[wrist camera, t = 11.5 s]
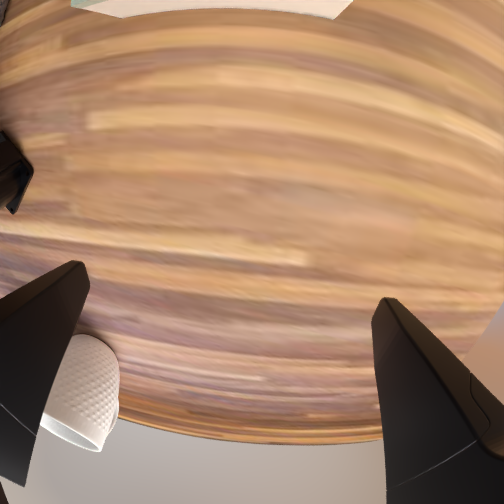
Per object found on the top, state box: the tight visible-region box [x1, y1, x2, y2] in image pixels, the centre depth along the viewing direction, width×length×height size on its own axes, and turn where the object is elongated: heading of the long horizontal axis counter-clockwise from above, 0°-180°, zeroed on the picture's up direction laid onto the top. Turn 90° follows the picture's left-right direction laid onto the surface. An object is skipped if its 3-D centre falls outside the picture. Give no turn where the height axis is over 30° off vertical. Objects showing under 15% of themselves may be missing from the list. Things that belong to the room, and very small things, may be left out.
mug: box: [40, 334, 120, 452], centre depth 29 cm, size 15×11×13 cm
